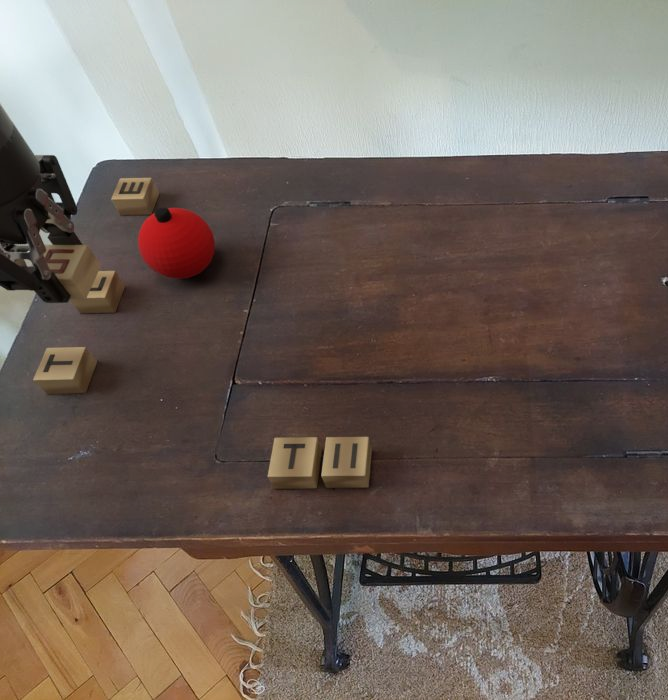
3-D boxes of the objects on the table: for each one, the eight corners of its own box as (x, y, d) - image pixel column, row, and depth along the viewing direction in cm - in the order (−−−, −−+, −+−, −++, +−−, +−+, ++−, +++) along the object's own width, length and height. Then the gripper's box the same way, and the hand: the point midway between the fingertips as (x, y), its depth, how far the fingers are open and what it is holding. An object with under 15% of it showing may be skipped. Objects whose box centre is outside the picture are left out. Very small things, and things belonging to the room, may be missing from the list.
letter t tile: (85, 393, 75) (72, 378, 73) (46, 394, 75) (32, 379, 73) (97, 361, 78) (85, 346, 75) (59, 362, 78) (46, 347, 75)
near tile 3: (326, 488, 68) (320, 475, 66) (330, 449, 71) (325, 436, 69) (368, 487, 68) (365, 475, 66) (372, 449, 71) (368, 435, 69)
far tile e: (151, 214, 93) (143, 198, 90) (120, 215, 93) (110, 198, 90) (159, 193, 95) (151, 177, 93) (128, 194, 95) (119, 177, 93)
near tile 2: (274, 488, 68) (267, 476, 66) (281, 450, 71) (274, 437, 69) (317, 488, 68) (311, 476, 66) (322, 449, 71) (317, 436, 69)
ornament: (154, 299, 84) (120, 243, 76) (154, 250, 89) (123, 193, 81) (225, 285, 85) (200, 229, 77) (222, 238, 90) (198, 180, 82)
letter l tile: (115, 312, 82) (104, 297, 80) (79, 313, 82) (67, 297, 80) (125, 286, 85) (115, 270, 82) (90, 286, 85) (79, 270, 82)
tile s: (40, 299, 63) (22, 278, 61) (57, 264, 66) (41, 243, 64) (86, 299, 63) (70, 278, 61) (101, 265, 66) (86, 243, 63)
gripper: (-47, 81, 55) (58, 229, 69) (-139, 197, 46) (2, 338, 60) (42, 82, 55) (129, 229, 69) (-35, 198, 46) (82, 338, 60)
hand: (69, 279), depth 64 cm, fingers closed on tile s, 4 cm apart
